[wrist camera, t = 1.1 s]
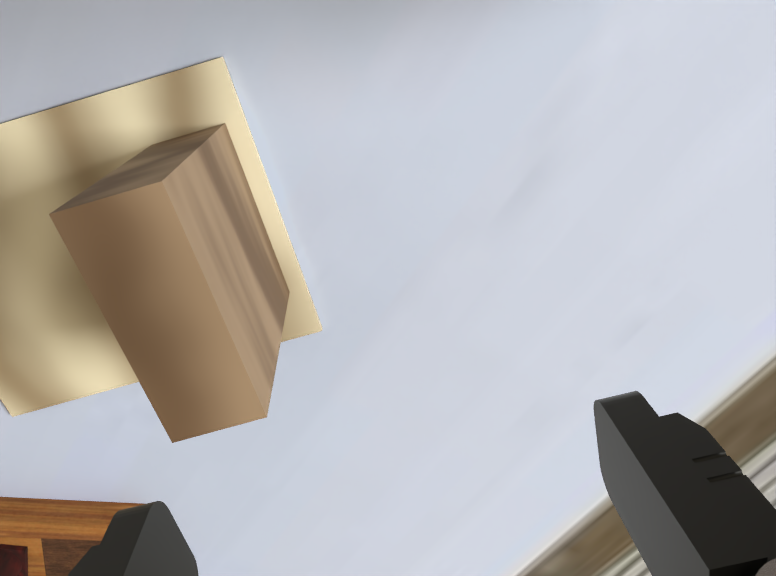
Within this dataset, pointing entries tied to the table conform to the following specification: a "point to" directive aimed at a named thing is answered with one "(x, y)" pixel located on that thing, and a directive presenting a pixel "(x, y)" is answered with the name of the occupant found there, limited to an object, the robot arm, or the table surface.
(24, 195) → the board
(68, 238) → the slab
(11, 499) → the gameboard
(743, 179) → the table surface
